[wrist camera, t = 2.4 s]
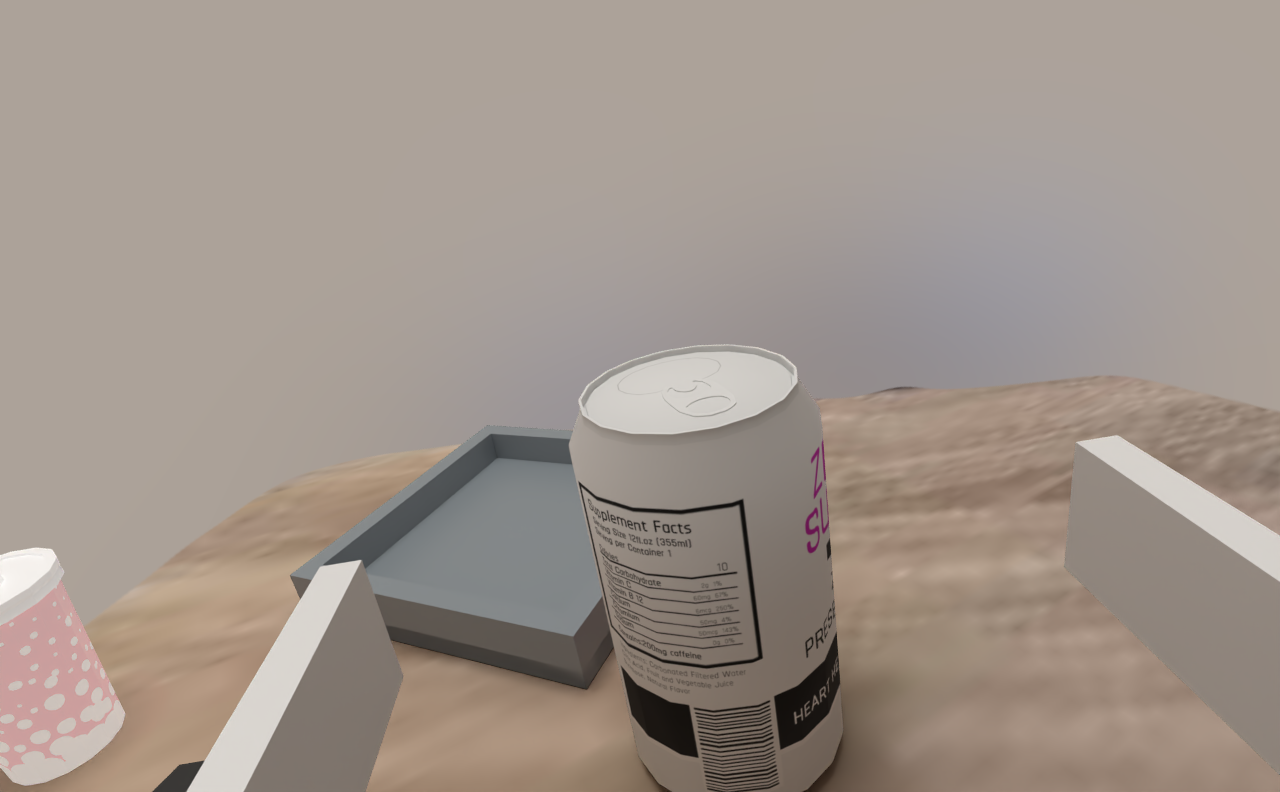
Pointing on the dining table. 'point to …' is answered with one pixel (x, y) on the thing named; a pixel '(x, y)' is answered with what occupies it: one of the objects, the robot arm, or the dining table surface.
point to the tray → (487, 559)
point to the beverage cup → (48, 675)
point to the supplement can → (715, 564)
